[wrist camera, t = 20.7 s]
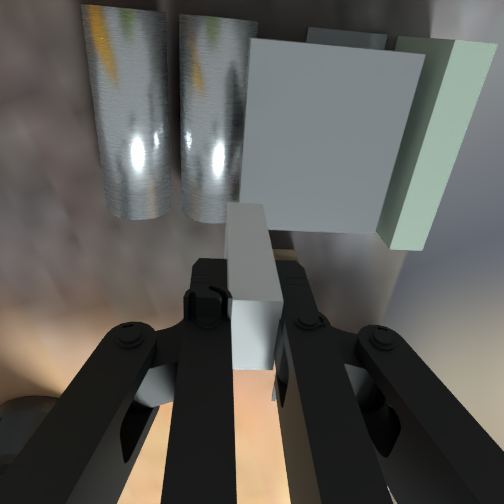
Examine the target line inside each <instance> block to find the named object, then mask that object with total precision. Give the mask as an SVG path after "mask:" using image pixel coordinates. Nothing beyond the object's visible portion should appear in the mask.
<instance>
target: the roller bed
mask: <svg viewBox="0 0 504 504" xmlns="http://www.w3.org/2000/svg"><path fill="white" fill-rule="evenodd" d="M81 10H82V18H83V26H84V34H85V42H86V50H87V58H88V66H89V74H90V82H91V90H92V98H93V106H94V113H95V121H96V129H97V137H98V145H99V153H100V161H101V169H102V177H103V185H104V193H105V201H106V208H107V211H108V212H109V213H110V214H112V215H113V216H116V217H119V218H123V219H130V220H144V219H151V218H156V217H159V216H162V215H164V214H166V213H167V212H168V211H169V210H170V209H171V206H172V204H171V169H170V135H169V100H168V66H167V31H166V12H157V11H148V10H139V9H129V8H119V7H109V6H98V5H87V4H81ZM257 31H258V21H250V20H240V19H231V18H221V17H210V16H200V15H189V14H179V53H180V124H181V195H182V212H183V213H184V215H186V216H187V217H189V218H191V219H193V220H196V221H199V222H204V223H226V214H227V202H235V203H238V190H239V176H240V161H241V146H242V132H243V117H244V103H245V88H246V74H247V59H248V45H249V37H255V38H257Z"/></svg>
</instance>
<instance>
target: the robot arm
mask: <svg viewBox="0 0 504 504" xmlns="http://www.w3.org/2000/svg"><path fill="white" fill-rule="evenodd" d="M183 299H184V318H183V320H182V321H180V322H179V323H178V324H176V325H174V326H172V327H170V328H167V329H163V330H158V331H155V330H154V329H153V328H152V327H151V326H150V325H148V324H145V323H142V322H127V323H122V324H120V325H118V326H116V327H114V328H112V329H111V330H110V331H109V332H108V333H107V334H106V335H105V336H104V338H103V339H102V341H101V342H100V343H99V345H98V346H97V347H96V349H95V350H94V351H93V353H92V354H91V356H90V357H89V358H88V360H87V361H86V362H85V364H84V365H83V366H82V368H81V369H80V371H79V372H78V373H77V375H76V376H75V377H74V379H73V380H72V381H71V383H70V384H69V386H68V387H67V388H66V390H65V391H64V392H63V394H62V395H61V397H60V398H59V399H54V398H49V397H23V398H18V399H14V400H11V401H8V402H6V403H4V404H3V405H1V406H0V504H117V502H118V500H119V497H120V495H121V493H122V491H123V488H124V486H125V484H126V482H127V480H128V477H129V475H130V473H131V471H132V468H133V466H134V464H135V462H136V459H137V457H138V455H139V453H140V450H141V448H142V446H143V444H144V441H145V439H146V437H147V435H148V433H149V430H150V428H151V426H152V424H153V421H154V419H155V417H156V415H157V412H158V410H159V407H160V405H162V404H165V403H169V402H172V401H173V409H172V417H171V425H170V433H169V441H168V449H167V456H166V464H165V472H164V480H163V488H162V496H161V504H237V491H236V460H235V428H234V396H233V370H273V365H274V359H275V366H276V375H275V381H274V387H273V393H272V401H275V399H277V407H278V414H279V421H280V428H281V436H282V443H283V450H284V457H285V464H286V472H287V479H288V486H289V493H290V500H291V504H393V501H392V499H391V496H390V493H389V490H390V492H391V493H392V495H393V497H394V499H395V500H396V502H397V504H504V451H503V450H502V449H501V448H500V447H499V446H498V445H497V444H496V442H495V441H494V440H493V439H492V438H491V437H490V436H489V434H488V433H487V432H486V431H485V430H484V429H483V428H482V427H481V425H480V424H479V423H478V422H477V421H476V420H475V419H474V418H473V416H472V415H471V414H470V413H469V412H468V411H467V410H466V409H465V407H464V406H463V405H462V404H461V403H460V402H459V401H458V400H457V398H456V397H455V396H454V395H453V394H452V393H451V392H450V391H449V389H447V387H446V386H445V385H444V384H443V383H442V382H441V380H440V379H439V378H438V377H437V376H436V375H435V374H434V373H433V372H432V371H431V369H430V368H429V367H428V366H427V365H426V364H425V363H424V361H423V360H422V359H421V358H420V357H419V356H418V355H417V353H416V352H415V351H414V350H413V349H412V348H411V347H410V346H409V344H408V343H407V342H406V341H405V340H404V339H403V338H402V337H401V336H400V335H399V334H398V333H396V332H395V331H393V330H391V329H389V328H387V327H384V326H380V325H368V326H365V327H363V328H362V329H361V330H360V331H359V333H358V335H357V334H353V333H349V332H345V331H342V330H339V329H336V328H334V327H332V326H331V325H330V322H329V321H328V319H327V318H326V317H325V316H324V315H323V314H321V313H320V312H318V309H317V306H316V303H315V300H314V297H313V294H312V291H311V288H310V287H309V282H308V279H307V276H306V273H305V270H304V268H303V267H302V266H301V265H300V264H299V263H298V262H297V261H296V260H275V259H274V255H273V250H272V246H271V241H270V236H269V232H268V227H267V223H266V218H265V213H264V209H263V204H255V203H235V202H227V214H226V233H225V252H224V259H211V258H199V259H198V260H197V261H196V263H195V264H194V265H193V267H192V276H191V284H190V289H189V290H187V291H186V293H185V295H184V297H183ZM387 486H388V487H387ZM388 488H389V490H388Z"/></svg>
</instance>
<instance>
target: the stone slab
mask: <svg viewBox="0 0 504 504" xmlns="http://www.w3.org/2000/svg"><path fill="white" fill-rule="evenodd" d="M425 55H426V54H420V53H413V52H405V51H394V50H383V49H373V48H362V47H351V46H341V45H330V44H319V43H309V42H298V41H287V40H277V39H266V38H255V37H249V45H248V59H247V74H246V88H245V103H244V117H243V132H242V146H241V161H240V176H239V190H238V203H255V204H263V209H264V213H265V218H266V223H267V227H268V230H287V231H310V232H334V233H357V234H375V231H376V228H377V224H378V221H379V217H380V214H381V210H382V207H383V203H384V200H385V196H386V193H387V189H388V185H389V182H390V178H391V175H392V171H393V168H394V164H395V161H396V157H397V154H398V150H399V147H400V143H401V140H402V136H403V133H404V129H405V126H406V122H407V119H408V115H409V112H410V108H411V105H412V101H413V98H414V94H415V91H416V87H417V83H418V80H419V76H420V73H421V69H422V66H423V62H424V59H425Z"/></svg>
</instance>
